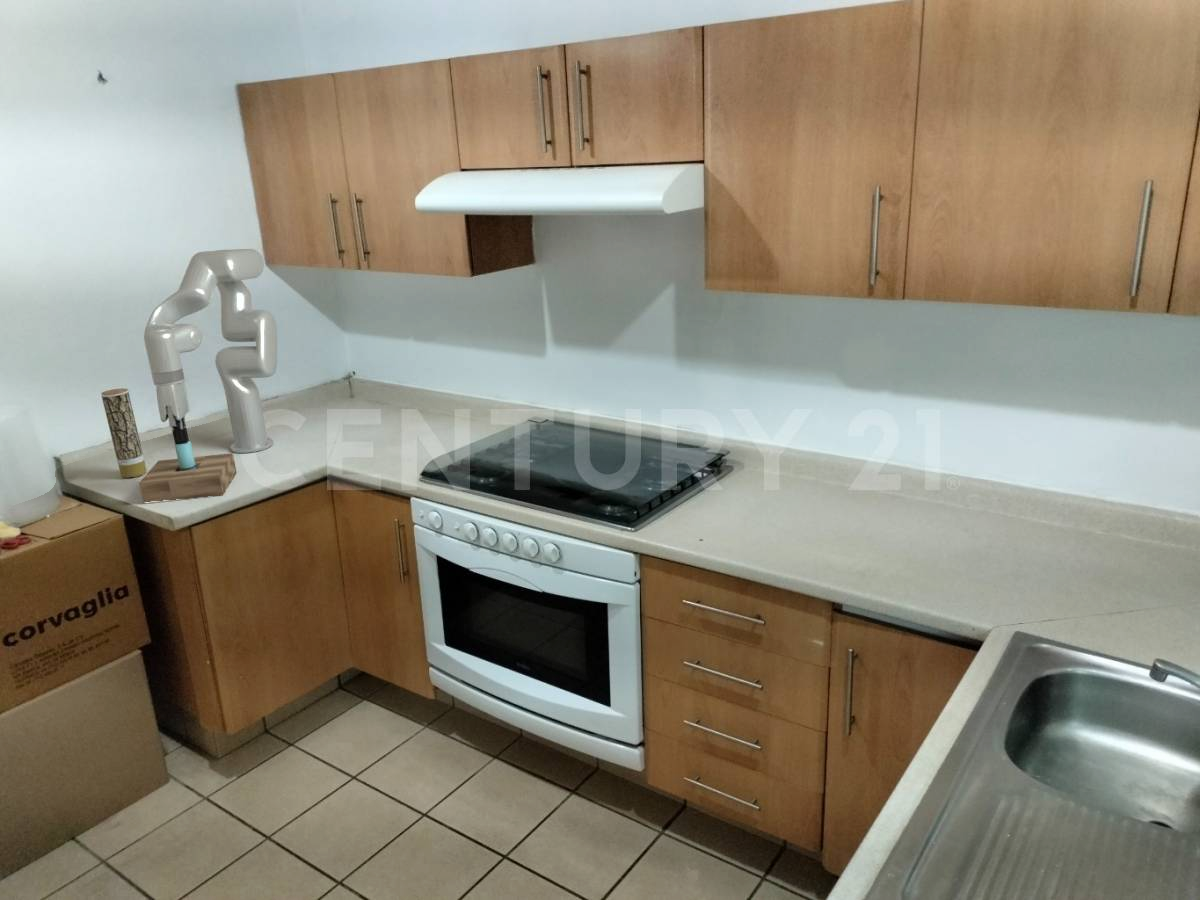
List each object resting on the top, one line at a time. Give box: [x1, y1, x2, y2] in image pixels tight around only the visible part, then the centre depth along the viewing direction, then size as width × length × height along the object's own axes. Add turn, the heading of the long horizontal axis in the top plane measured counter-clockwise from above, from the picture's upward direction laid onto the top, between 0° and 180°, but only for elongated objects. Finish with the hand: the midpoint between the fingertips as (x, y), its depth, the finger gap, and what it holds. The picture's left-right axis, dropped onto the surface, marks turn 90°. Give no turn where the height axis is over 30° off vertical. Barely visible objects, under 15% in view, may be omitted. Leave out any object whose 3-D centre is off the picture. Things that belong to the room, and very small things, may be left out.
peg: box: [174, 440, 196, 471], centre depth 246 cm, size 4×4×12 cm
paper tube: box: [101, 388, 147, 479], centre depth 257 cm, size 7×7×25 cm
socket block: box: [138, 452, 238, 503], centre depth 247 cm, size 18×20×6 cm
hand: (182, 442), depth 244 cm, fingers closed
